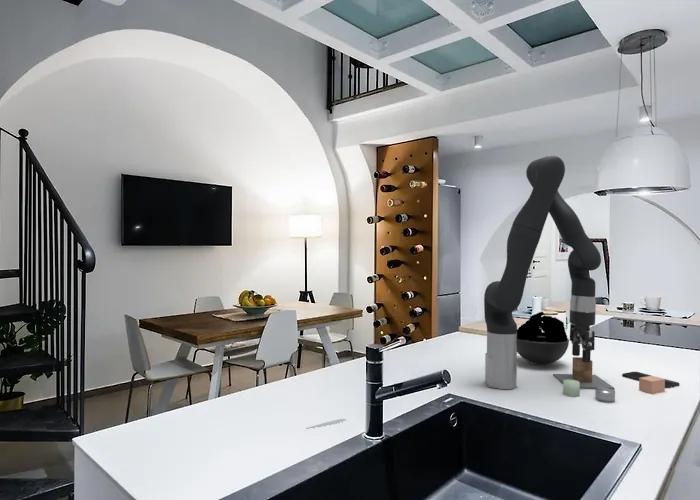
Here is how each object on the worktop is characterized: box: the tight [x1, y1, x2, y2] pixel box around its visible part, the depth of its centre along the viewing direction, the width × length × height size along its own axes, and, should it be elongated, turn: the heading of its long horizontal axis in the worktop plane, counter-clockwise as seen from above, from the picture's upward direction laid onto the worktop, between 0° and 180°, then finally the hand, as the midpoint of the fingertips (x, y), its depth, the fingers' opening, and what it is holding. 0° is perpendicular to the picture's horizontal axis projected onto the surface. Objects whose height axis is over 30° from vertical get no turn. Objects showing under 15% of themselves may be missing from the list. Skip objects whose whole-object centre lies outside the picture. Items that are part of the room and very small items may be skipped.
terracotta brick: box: [638, 375, 666, 395], centre depth 144 cm, size 6×4×4 cm, turn 113°
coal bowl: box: [517, 311, 570, 366], centre depth 175 cm, size 20×20×19 cm
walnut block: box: [571, 356, 593, 383], centre depth 152 cm, size 4×4×7 cm
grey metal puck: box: [594, 387, 616, 404], centre depth 136 cm, size 5×5×3 cm
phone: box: [621, 371, 680, 389], centre depth 154 cm, size 8×1×15 cm
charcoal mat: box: [552, 373, 615, 391], centre depth 152 cm, size 14×14×1 cm
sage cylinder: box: [562, 379, 581, 398], centre depth 140 cm, size 4×4×4 cm
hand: (580, 358), depth 152 cm, fingers open, 8 cm apart
